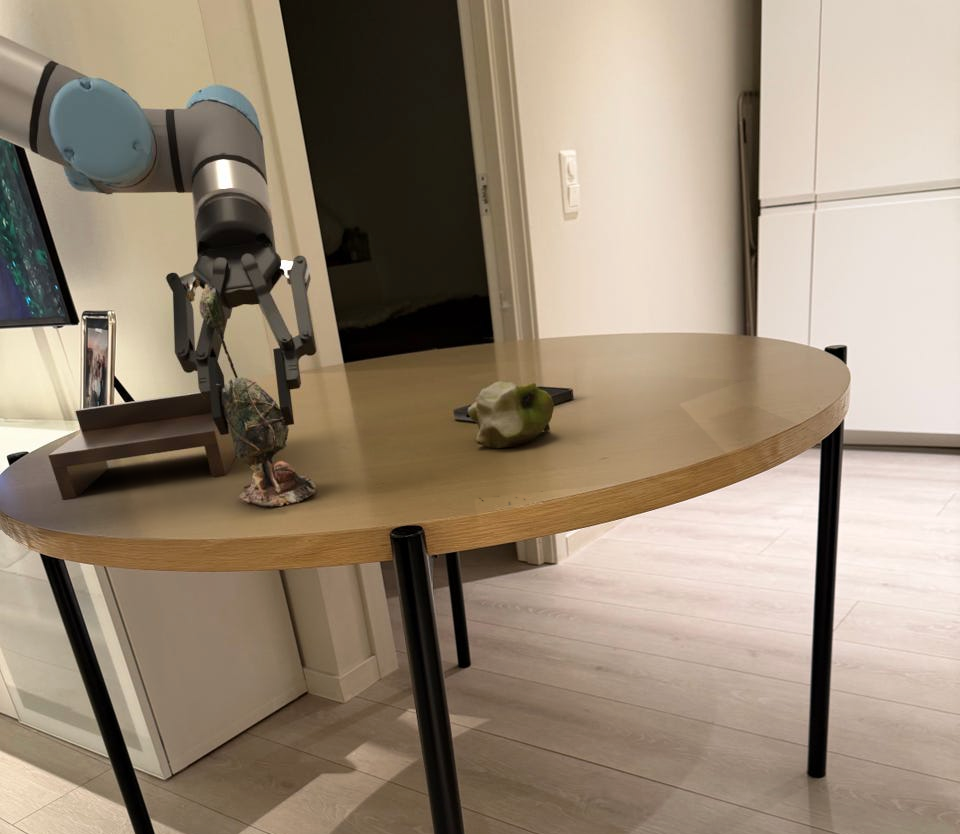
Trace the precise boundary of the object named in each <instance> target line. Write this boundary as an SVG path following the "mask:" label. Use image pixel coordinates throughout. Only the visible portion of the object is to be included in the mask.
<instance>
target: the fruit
mask: <svg viewBox="0 0 960 834" xmlns="http://www.w3.org/2000/svg"><path fill="white" fill-rule="evenodd" d="M537 387H538V386H537V384H536V383H535V382H531V383H529V384H526V385H525V386H524V385H516V384H515V383H514V382H512V381H511V382H504V381H499V380H498V381H495V382H494V383H492V384H490V385H489V386H487V387H485V388H482V389H481V390H480V392H479V393H478V395H477V397H475V399H474V400H475V402H473V403H471V404H472V405H471V404H470V405H471V406H470V407H469V408H468V413H469V415H470V418H471V420H474V421H475V422H474V423H476V424H477V426H478V427H477V428H478V432H477V435H476V437H475V441H476V443H477V444H478V445H481V446H485V447H487V448H489V449H495V448H496V449H503V448H509V447H511V448H515V446H516V447H519V446H522V445H525V444H528V443H531V442H533V441H534V439H535V438H536V437H537V436H539V434H540V433H542V432H543V431H544V433H545V432H549V431H550V430H551V427H550V422H551V419H552V418H553V413H554V408H555V405H554V404H553V401H552V398H551V396H550V395H549V394H548V393H547V392H546V391H544V390H540V389H538V388H537Z"/></svg>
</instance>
